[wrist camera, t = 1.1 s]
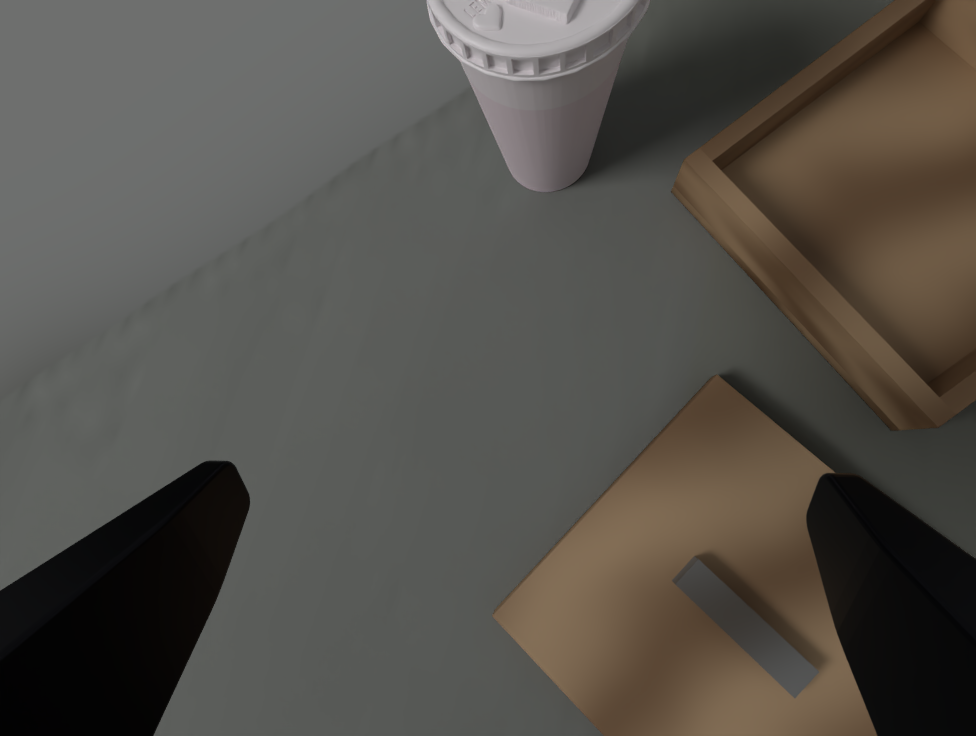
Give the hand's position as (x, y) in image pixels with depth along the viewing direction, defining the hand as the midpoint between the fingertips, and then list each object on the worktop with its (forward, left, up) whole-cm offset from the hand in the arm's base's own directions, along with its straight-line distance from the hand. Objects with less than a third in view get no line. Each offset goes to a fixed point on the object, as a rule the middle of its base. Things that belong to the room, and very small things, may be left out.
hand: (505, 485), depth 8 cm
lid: (-8, -2, -13) cm, 16 cm away
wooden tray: (0, -17, -13) cm, 22 cm away
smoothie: (+11, -8, -13) cm, 19 cm away
